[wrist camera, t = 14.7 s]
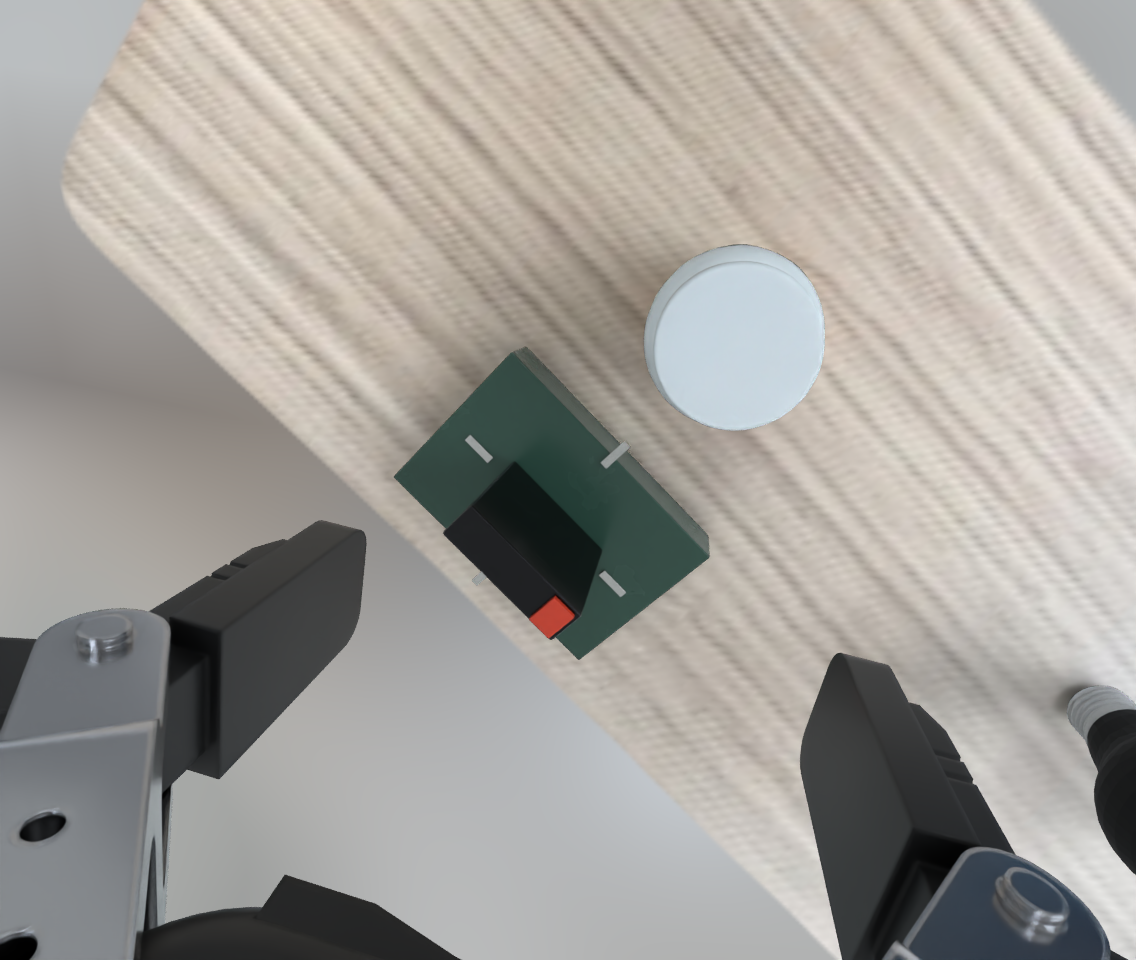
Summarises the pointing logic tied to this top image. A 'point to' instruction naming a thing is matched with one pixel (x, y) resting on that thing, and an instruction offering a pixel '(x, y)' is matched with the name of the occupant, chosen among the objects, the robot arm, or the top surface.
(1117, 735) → the light bulb
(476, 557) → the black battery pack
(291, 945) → the robot arm
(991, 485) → the top surface
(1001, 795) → the top surface
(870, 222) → the top surface
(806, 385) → the pill bottle
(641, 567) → the base plate
